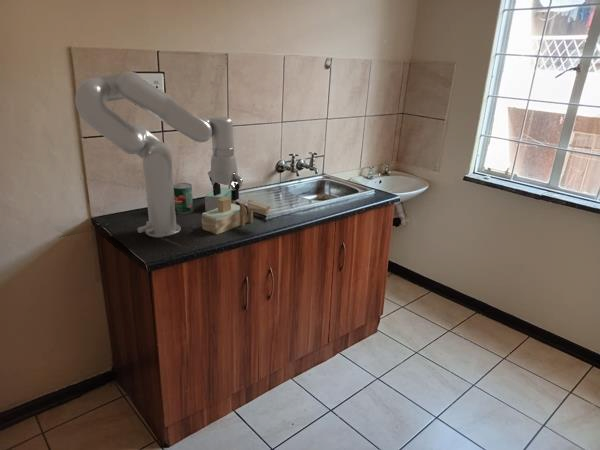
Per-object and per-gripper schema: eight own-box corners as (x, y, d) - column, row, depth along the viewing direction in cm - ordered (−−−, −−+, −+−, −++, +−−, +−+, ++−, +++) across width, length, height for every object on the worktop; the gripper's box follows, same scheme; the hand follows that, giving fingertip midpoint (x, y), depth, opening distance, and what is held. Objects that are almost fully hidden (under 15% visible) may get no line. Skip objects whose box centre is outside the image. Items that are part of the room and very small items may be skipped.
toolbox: (219, 237, 163) (218, 211, 159) (199, 229, 169) (198, 204, 165) (253, 224, 177) (252, 200, 173) (233, 217, 182) (233, 194, 179)
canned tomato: (195, 207, 192) (194, 183, 188) (190, 214, 185) (189, 188, 181) (176, 207, 192) (175, 182, 188) (171, 213, 185) (169, 187, 181)
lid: (216, 220, 162) (215, 206, 160) (202, 215, 166) (201, 201, 164) (246, 210, 174) (246, 196, 172) (232, 205, 178) (232, 192, 176)
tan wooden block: (265, 215, 165) (265, 207, 164) (247, 209, 170) (247, 202, 169) (270, 213, 167) (270, 206, 166) (251, 208, 172) (251, 200, 171)
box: (232, 204, 198) (232, 188, 196) (221, 214, 186) (221, 197, 183) (217, 202, 200) (216, 186, 197) (205, 212, 187) (204, 195, 185)
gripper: (199, 150, 164) (202, 195, 170) (233, 157, 154) (235, 204, 160) (214, 147, 169) (217, 190, 175) (248, 153, 159) (249, 199, 166)
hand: (226, 197), depth 168 cm, fingers open, 9 cm apart
